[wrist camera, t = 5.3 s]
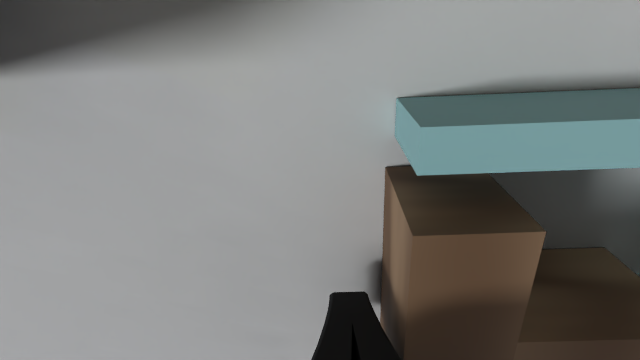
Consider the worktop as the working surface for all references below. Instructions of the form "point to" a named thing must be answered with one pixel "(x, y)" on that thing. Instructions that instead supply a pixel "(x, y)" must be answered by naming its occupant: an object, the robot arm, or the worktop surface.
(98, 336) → the worktop surface
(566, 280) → the t block
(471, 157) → the jig
